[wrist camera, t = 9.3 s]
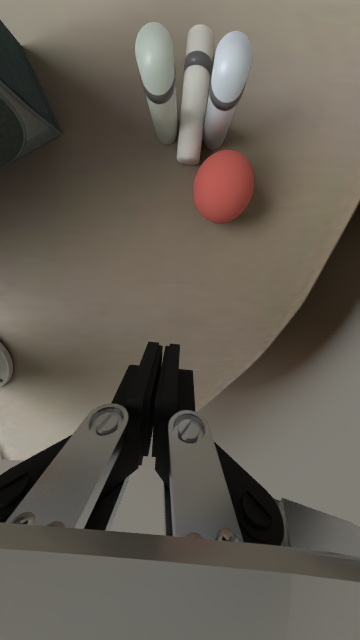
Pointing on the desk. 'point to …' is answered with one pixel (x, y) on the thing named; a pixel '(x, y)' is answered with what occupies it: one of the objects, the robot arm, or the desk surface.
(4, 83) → the cassette player
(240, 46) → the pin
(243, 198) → the ball
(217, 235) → the desk surface
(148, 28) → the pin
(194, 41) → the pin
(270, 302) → the desk surface
